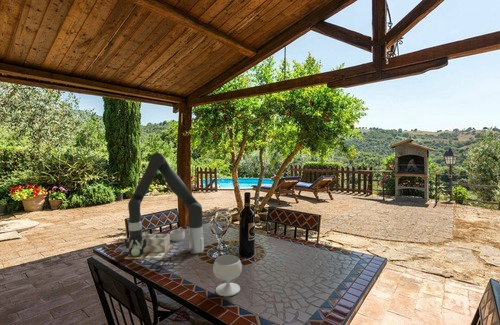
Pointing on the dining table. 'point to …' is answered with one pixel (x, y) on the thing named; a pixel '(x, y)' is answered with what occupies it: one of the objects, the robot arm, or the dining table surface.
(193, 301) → the dining table surface
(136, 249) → the sage ball
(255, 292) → the dining table surface
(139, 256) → the sorting board
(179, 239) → the teacup
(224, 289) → the chalice
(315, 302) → the dining table surface
